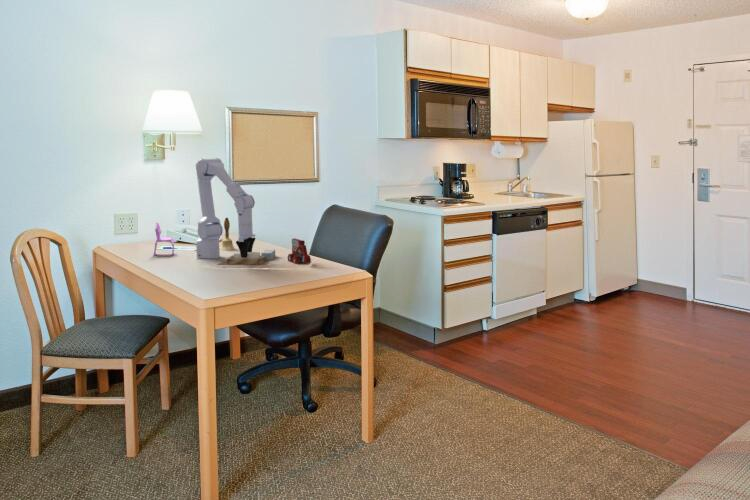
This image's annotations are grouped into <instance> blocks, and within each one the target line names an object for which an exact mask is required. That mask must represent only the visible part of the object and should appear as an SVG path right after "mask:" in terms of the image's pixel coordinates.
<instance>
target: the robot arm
mask: <svg viewBox="0 0 750 500" xmlns="http://www.w3.org/2000/svg"><path fill="white" fill-rule="evenodd" d="M195 171H196V177H197V178H196V179H197V180H196V181H197V187H198V194H199V199H200V200H199V201H200V206H201V207H200V210H201V215H202V216H201V217H202V218H200V220H199V221H198V222H197V235H198V236H199V238H198V239H197V241H196V260H199V259H218V258H220V257H221V255H220V253H221V252H220V251H221V250H220V239H221V236H222V235H223V233H224V232H223V231H224V230H223V228H224V227H223V226H222V224H221V219H220V218H218V217H217V216H216V213H215V205H214V203H215V202H214V198H213V196H214V195H213V190H212V180H213V178H214V177H217V178H218V179H219V180H220V182H221V183H222V184H223V185H224V186H225V187H226V192H227V193H228V195H229V196H230V197H231V199H232V200H233V201H234V202H233V204H234V207H235V209H236V213H237V224H238V236H237V237H238V240H236V241H235V243H236V245H237V247H238V250H239V252H240V254H241V257H242V258H247V254H248V252H253V248H254V244H255V241H256V233H255V234H254V231H253V208H254V207H255V203H256V202H255V199H254V197H253V195H252V194H248V193H246V191H245V190H244V189H243V188H242V187H241V184H240V183H239V182H236V181H233V179H232V178H231V176H230V175H229V173H228V172H227V170H226V169H225V164H224V162H223V161H222V160H221V159H220V158H218V157H216V158H199V159H198V160H197V162H196V164H195Z"/></svg>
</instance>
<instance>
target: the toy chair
mask: <svg viewBox="0 0 750 500" xmlns="http://www.w3.org/2000/svg"><path fill="white" fill-rule="evenodd" d="M154 225H155V229H154V231H155V235H156V239H155V243H154V251H153V257H155V255H156V253H157V245H158V243H162V242H163V243H165V242H167V243H171V247H172V252H171V256H174V253H175V252H174V251H175V242H174V240H173V237H161V233H162V230H161V226H160V224H159V223H158V222H156V221H155V222H154Z"/></svg>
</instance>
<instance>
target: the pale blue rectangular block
mask: <svg viewBox="0 0 750 500" xmlns="http://www.w3.org/2000/svg"><path fill="white" fill-rule="evenodd" d="M260 256H266V260H270V261H272V260H273V259H274V258H275V257H276V249H265V250H264V251H262V252H261V253H260ZM271 259H272V260H271Z"/></svg>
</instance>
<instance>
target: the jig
mask: <svg viewBox="0 0 750 500" xmlns="http://www.w3.org/2000/svg"><path fill="white" fill-rule="evenodd" d="M272 260H273V259H271V260H266V256H261V255H260V258H259V259H234V254H232V255H230V256H228V257H227V258H225V259H224V260H222V261H220V262H218V263H217V264H216V265H219V266H220V265H221V266H265V265H266V264H268V263H269V262H271V261H272Z"/></svg>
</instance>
